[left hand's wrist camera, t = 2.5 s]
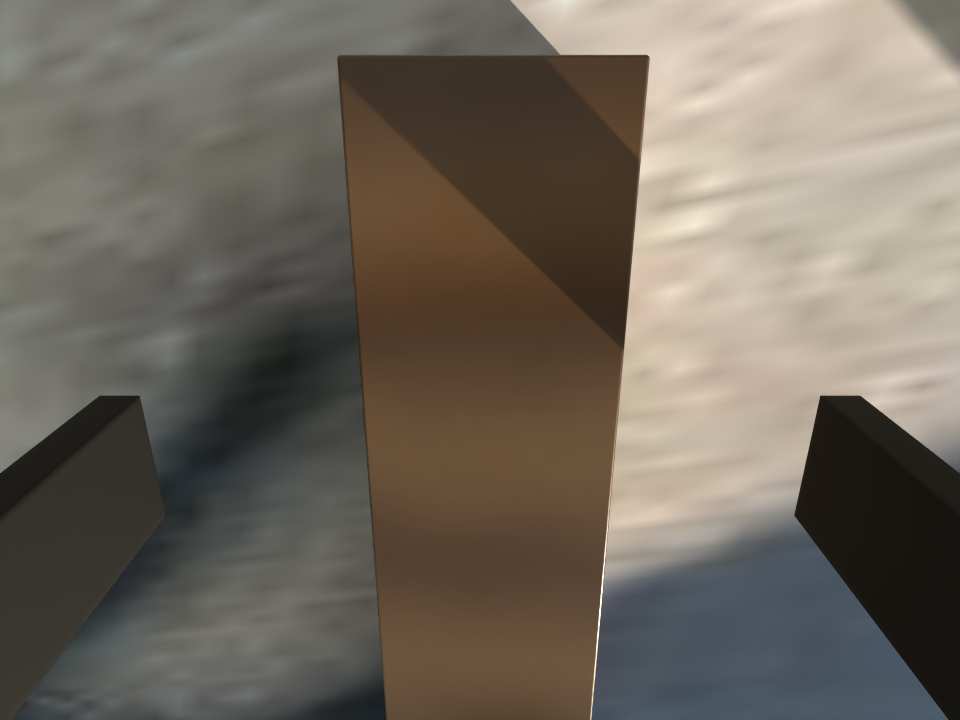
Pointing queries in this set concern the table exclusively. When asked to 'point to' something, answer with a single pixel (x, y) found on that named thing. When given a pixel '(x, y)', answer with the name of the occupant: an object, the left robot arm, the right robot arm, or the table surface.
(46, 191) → the table surface
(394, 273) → the bar
